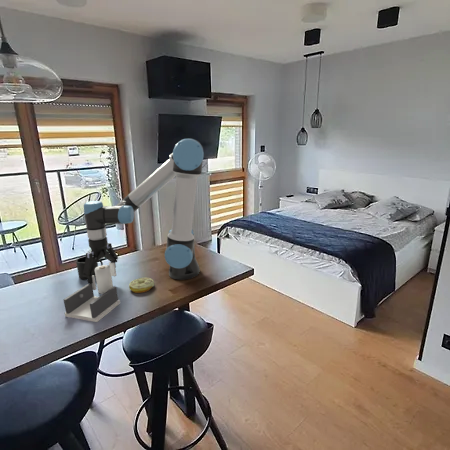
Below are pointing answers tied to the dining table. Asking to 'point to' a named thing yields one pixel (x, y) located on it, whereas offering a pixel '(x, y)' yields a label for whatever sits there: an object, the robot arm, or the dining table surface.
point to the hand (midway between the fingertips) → (103, 282)
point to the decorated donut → (141, 285)
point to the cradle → (90, 304)
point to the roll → (103, 278)
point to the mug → (80, 267)
